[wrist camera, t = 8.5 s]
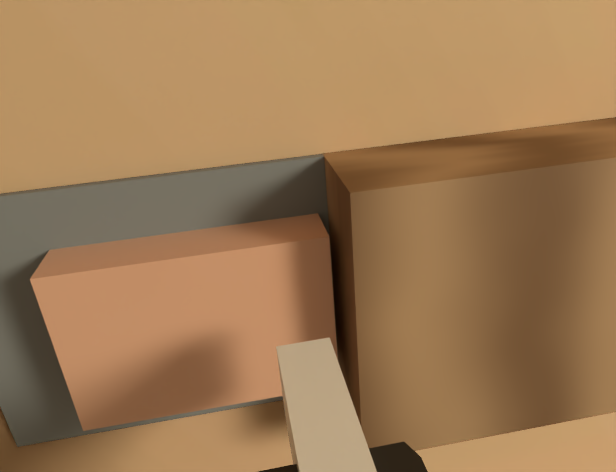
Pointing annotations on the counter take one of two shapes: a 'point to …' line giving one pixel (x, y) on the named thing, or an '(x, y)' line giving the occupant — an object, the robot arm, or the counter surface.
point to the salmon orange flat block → (184, 316)
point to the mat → (112, 227)
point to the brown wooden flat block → (476, 281)
